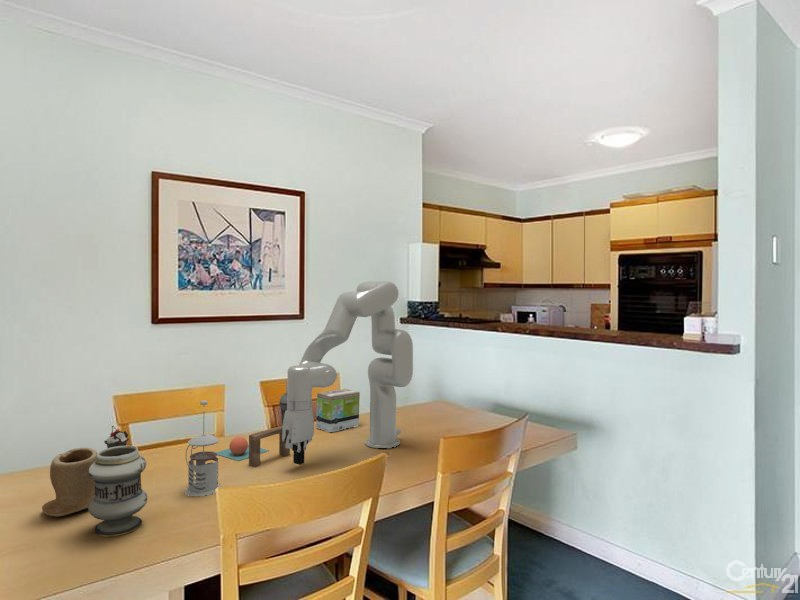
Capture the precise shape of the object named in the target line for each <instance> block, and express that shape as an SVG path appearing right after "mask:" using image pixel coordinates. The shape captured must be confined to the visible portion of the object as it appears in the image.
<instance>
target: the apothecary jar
mask: <svg viewBox="0 0 800 600" xmlns="http://www.w3.org/2000/svg"><path fill="white" fill-rule="evenodd" d="M146 467H147V460H146V459H145V458H144V456H142V455H141V454H140V452H139V448H138V447H137V446H135V445H126V446H117V447H111V448H107V447H106V448H104V449H101V450H100V451H97V458H96V461H95V462H94V463H93V464H92V465H91V466H90V468H89V471H88V473H89V476H90V477H91V478H92V479H93V480H94V481H95V496H94V498H93V499H92V500H91V502H90V504H89V507H88V508H87V509H88V513H89V514H90V515H91V516H92V518H94V519H97V520H101V522H99V523H97V525H95V527H94V529H93V533H94V534H97V536H99V537H104V538H105V537H106V538H109V537H111V538H112V537H118V536H123V535H126V534H129V533H131V532H134V531H136V530H137V529H139V528H140V527H141V526H142V523H143V520H142V519H141V518H140V516H137V515H136V514H137V513H138V512H140V511H142V509H143V508H144V507H145V506H146V505H147V502H148V494H147V492H146V491H145V490H144V489H143V488H142V474H141V473H143V472H144V471H145V470H146Z"/></svg>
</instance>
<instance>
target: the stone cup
mask: <svg viewBox="0 0 800 600" xmlns="http://www.w3.org/2000/svg"><path fill="white" fill-rule="evenodd" d="M97 454H98V451H96V449H94V448H91V447H77V448H72V449H69V450H67V451H65V452H64V453H60V454H58V455H56V456H55V457H54V458H53V459H52V461H51V463H50V467H49V477H50V478H49V479H50V482H51V485H52V488H53V490H54V493H55V499H51V500H49V501H48V502H45V503H44V504H43V505H42V507H41V511H42V512H43V514H45V515H47V516H49V517H56V518H57V517H63V516H67V515H70V514H75V513H77V512H80V511H83V510H86V509H88V507H89V504H90V502H91V500H92V499H93V498H94V496H95V481H94V480H93V479H92V478H91V477H90V476H89V473H88V471H89V468H90V466H91V465H92V464H93V463H94V462H95V461H96V458H97Z"/></svg>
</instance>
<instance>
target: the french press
mask: <svg viewBox="0 0 800 600" xmlns="http://www.w3.org/2000/svg"><path fill="white" fill-rule="evenodd" d="M199 405H200V406H207V405H208V401H207V400H205V399H204V400H201V401H200V404H199ZM202 414H203V421H202V424H203V426H202V427H203V428H202V429H203V430H202V432H203V433H202V434H199V435H196V436H194V437H192V438H191V439H189V440H188V441H187V444H188V446H187V447H186V449H185V461H186V465H187V467H188V470H187V471H188V473H187V474H188V475H187V476H188V479H187V480H188V483H187V484H188V486H187V488H186V489H185V490H184V491H185V493H184V495H186V494H187V495H189V496H188V497H191V496H203V497H206V496H205V495H209V496H211V495H210V494H212V493H213V495H215V489H216V488H217V487H222V485H221V484H219V458H218V457H217V456H218V455H217V453H216V452H215V451H205V447H209V446H214V445H216V444H218V443H219V442H220V438H219V437H217V436H215V435H212V434H205V412H203V413H202ZM189 447H191V449H190V456H189V459H190V460H188V459H187V457H188V454H187V453H188V449H189ZM198 447H199V448H200V447H202V451H198V452H194V453H193V450H195V449H197V448H198ZM208 461H212V462H208ZM213 461H214V462H213ZM206 462H207V463H206ZM187 495H186V496H187Z"/></svg>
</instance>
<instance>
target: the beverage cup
mask: <svg viewBox="0 0 800 600" xmlns="http://www.w3.org/2000/svg"><path fill="white" fill-rule="evenodd" d="M285 389H286V392H285V393H283V394H282V395H281V396H280V398H279V407H280V415H281V418H280V419H281V426H283V420H284V415H285V411H287V380H285Z"/></svg>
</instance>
